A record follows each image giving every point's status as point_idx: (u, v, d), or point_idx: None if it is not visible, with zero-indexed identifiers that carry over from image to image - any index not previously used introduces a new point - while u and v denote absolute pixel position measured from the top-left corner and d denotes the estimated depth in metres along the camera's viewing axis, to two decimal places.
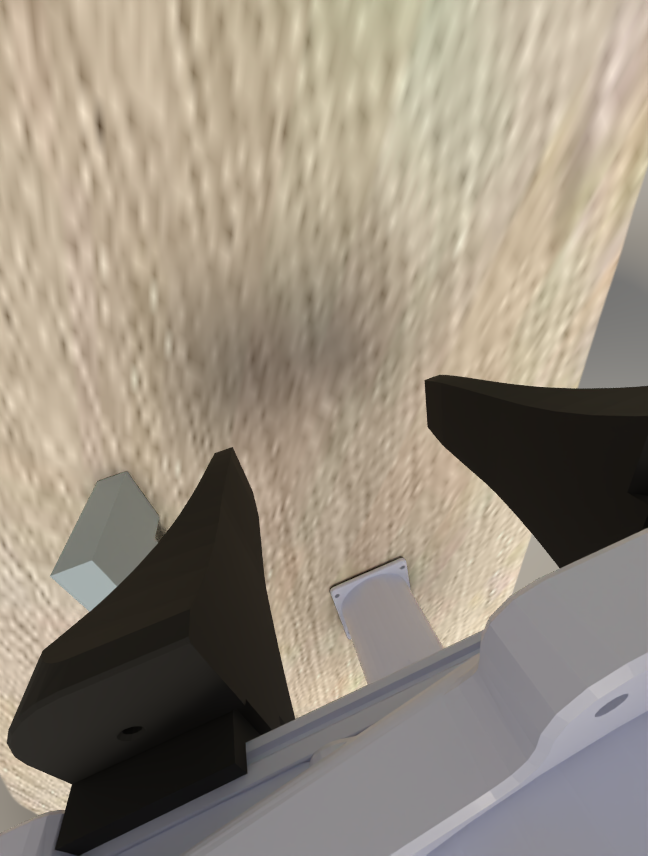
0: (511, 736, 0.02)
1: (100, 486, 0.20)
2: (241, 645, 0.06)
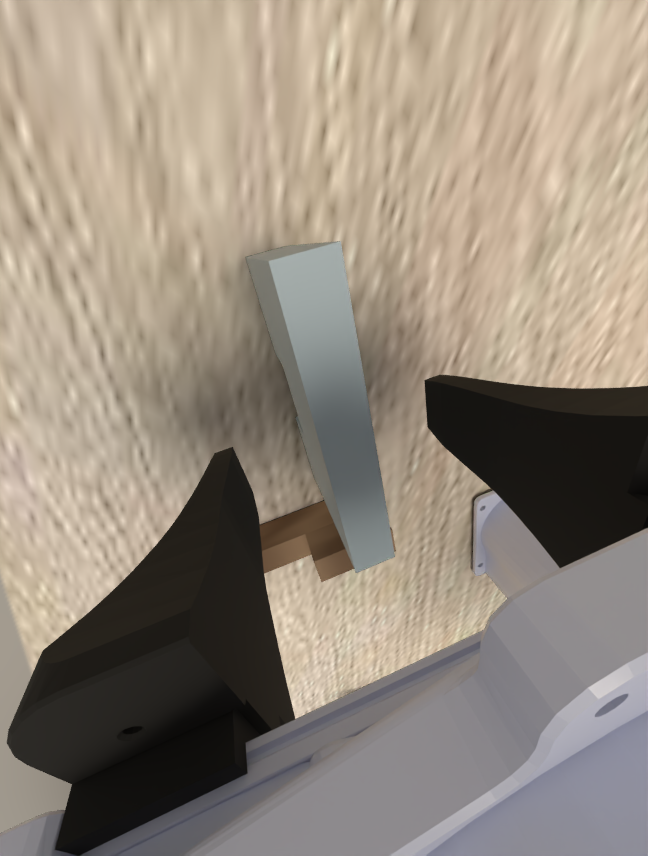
0: (512, 736, 0.02)
1: (256, 254, 0.13)
2: (241, 645, 0.06)
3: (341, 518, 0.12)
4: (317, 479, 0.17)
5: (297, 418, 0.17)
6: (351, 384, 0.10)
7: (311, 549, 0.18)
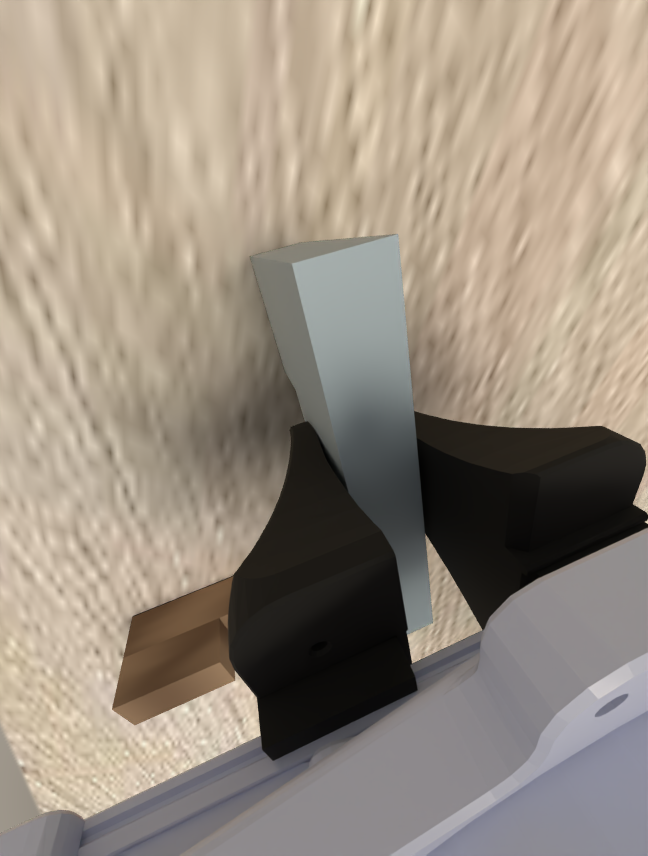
0: (511, 736, 0.02)
1: (263, 253, 0.10)
2: None
3: None
4: None
5: None
6: (397, 430, 0.07)
7: None
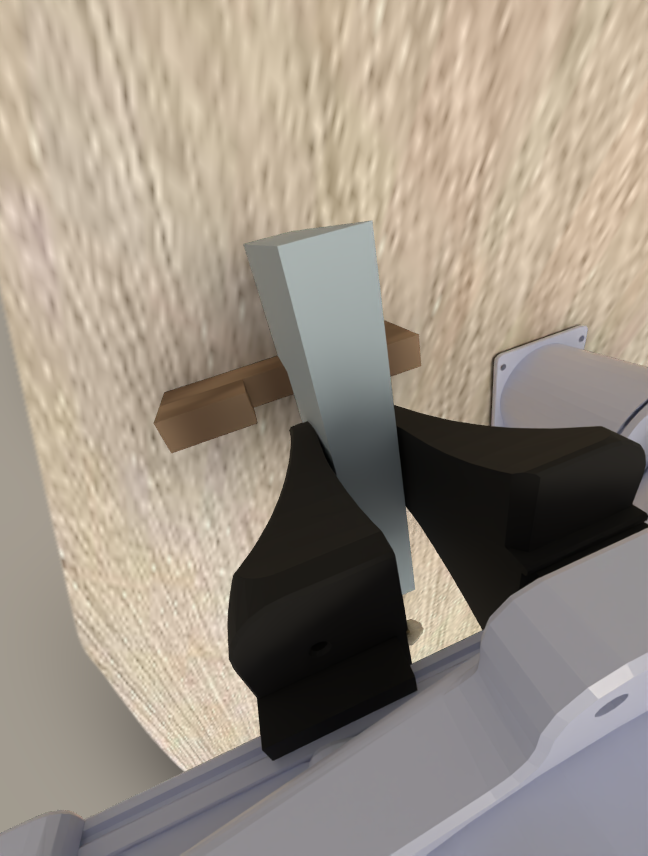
0: (511, 736, 0.02)
1: (256, 241, 0.11)
2: None
3: None
4: None
5: None
6: (376, 402, 0.08)
7: None
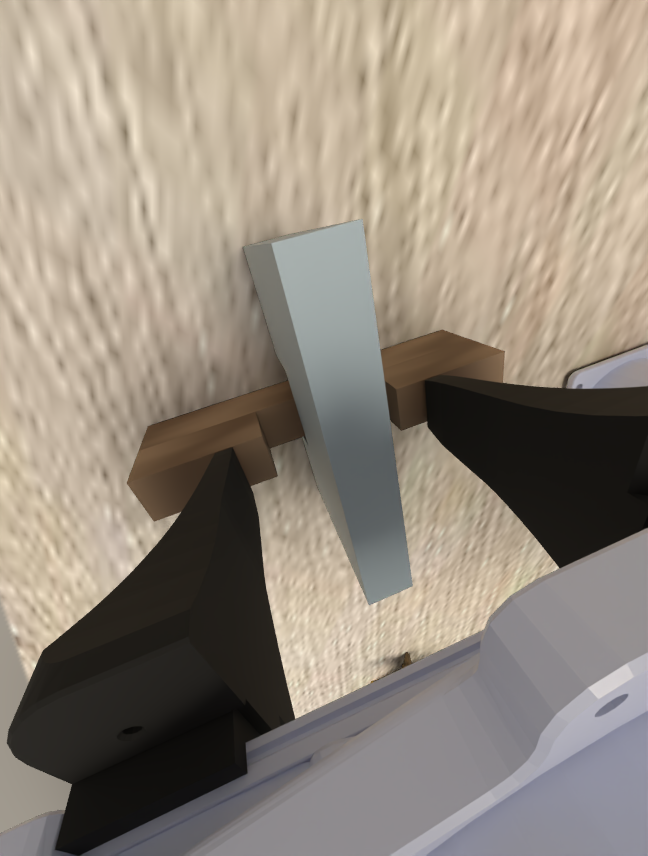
0: (512, 736, 0.02)
1: (255, 243, 0.11)
2: (241, 645, 0.06)
3: (354, 547, 0.11)
4: (323, 494, 0.16)
5: None
6: (370, 396, 0.08)
7: (388, 381, 0.12)
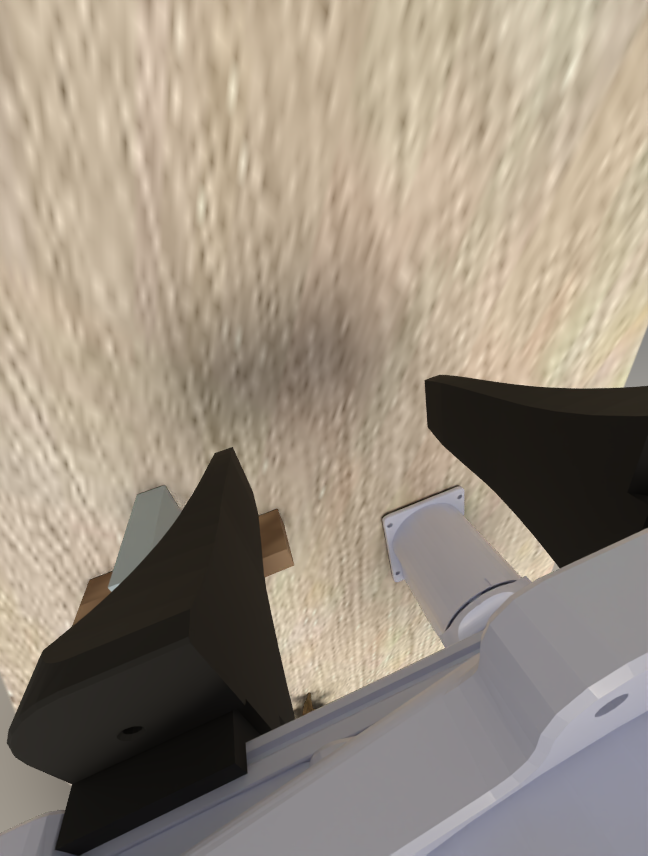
0: (511, 736, 0.02)
1: (141, 500, 0.21)
2: (241, 645, 0.06)
3: None
4: None
5: None
6: None
7: None
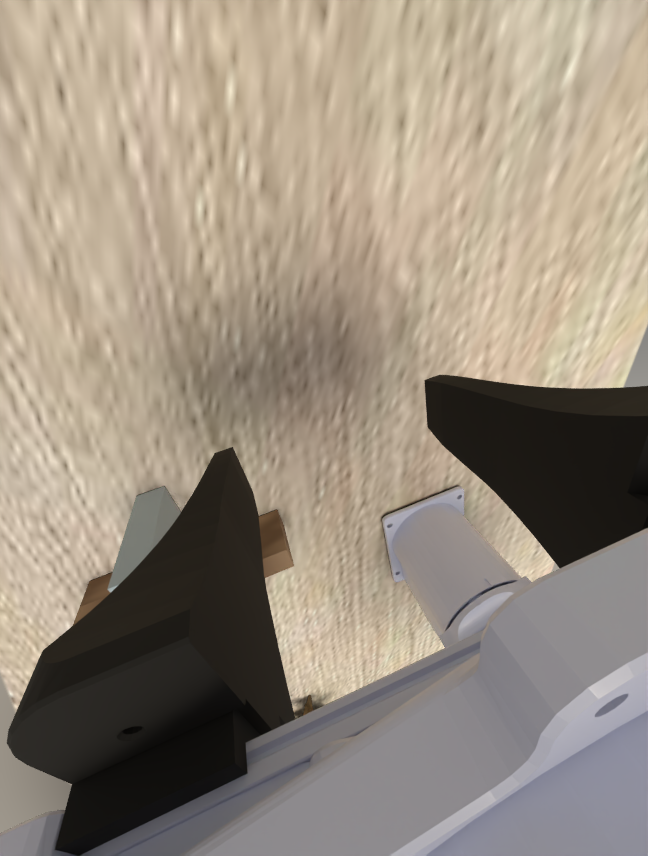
0: (512, 736, 0.02)
1: (140, 501, 0.21)
2: (241, 645, 0.06)
3: None
4: None
5: None
6: None
7: None
